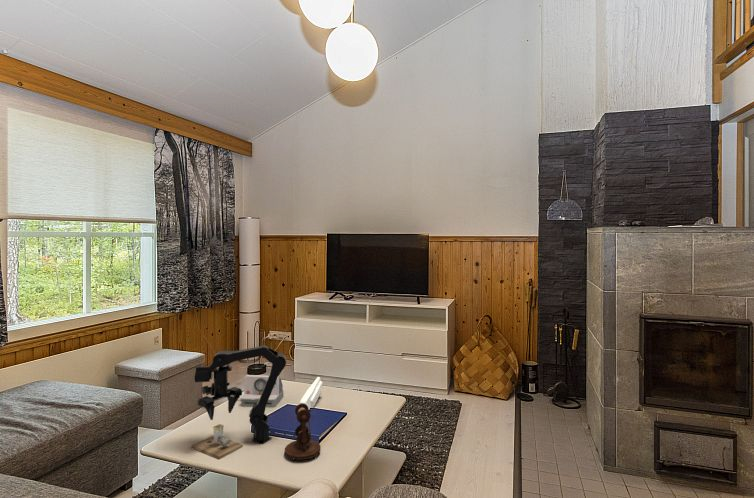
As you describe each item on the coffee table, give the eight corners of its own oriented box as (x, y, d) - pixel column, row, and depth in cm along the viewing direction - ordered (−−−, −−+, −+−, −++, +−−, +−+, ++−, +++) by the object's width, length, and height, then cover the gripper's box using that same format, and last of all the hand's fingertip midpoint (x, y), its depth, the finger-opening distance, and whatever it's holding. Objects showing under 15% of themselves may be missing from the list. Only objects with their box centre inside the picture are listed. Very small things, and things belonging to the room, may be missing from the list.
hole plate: (242, 447, 183) (242, 436, 183) (219, 459, 173) (219, 447, 173) (214, 437, 192) (214, 426, 192) (191, 448, 182) (191, 437, 182)
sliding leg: (223, 443, 183) (223, 425, 183) (217, 446, 180) (217, 428, 180) (219, 442, 184) (219, 424, 184) (213, 445, 181) (213, 426, 181)
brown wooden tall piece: (323, 460, 172) (323, 411, 172) (286, 465, 168) (286, 415, 168) (317, 443, 186) (317, 398, 186) (283, 448, 182) (283, 401, 182)
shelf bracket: (325, 397, 242) (323, 377, 239) (309, 424, 218) (307, 402, 216) (315, 396, 243) (314, 376, 241) (299, 423, 219) (297, 401, 217)
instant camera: (236, 406, 228) (235, 378, 228) (255, 393, 249) (255, 367, 248) (272, 410, 224) (272, 381, 223) (288, 396, 244) (288, 370, 244)
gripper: (227, 372, 198) (227, 405, 198) (190, 383, 183) (190, 419, 183) (242, 376, 192) (242, 410, 192) (205, 388, 176) (205, 425, 177)
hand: (220, 416), depth 186 cm, fingers open, 9 cm apart
